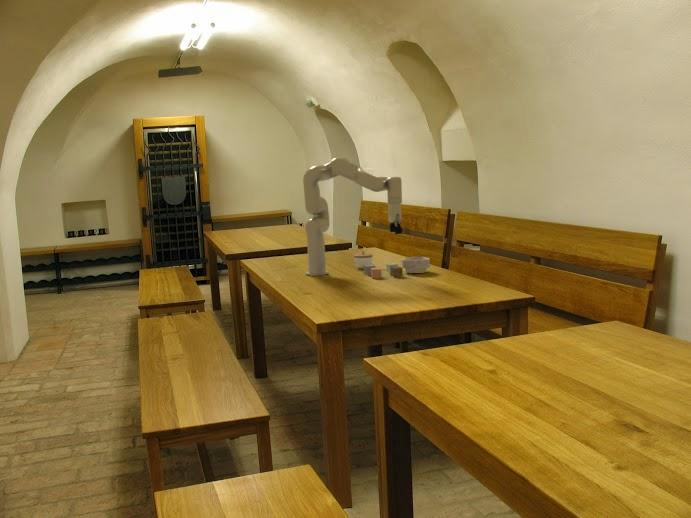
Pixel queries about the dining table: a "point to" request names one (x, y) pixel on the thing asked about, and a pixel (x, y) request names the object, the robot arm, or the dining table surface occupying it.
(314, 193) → the robot arm
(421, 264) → the paper bowls
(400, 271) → the walnut block
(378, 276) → the terracotta block
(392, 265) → the sage block
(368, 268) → the slate block
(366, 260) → the lidded jar
